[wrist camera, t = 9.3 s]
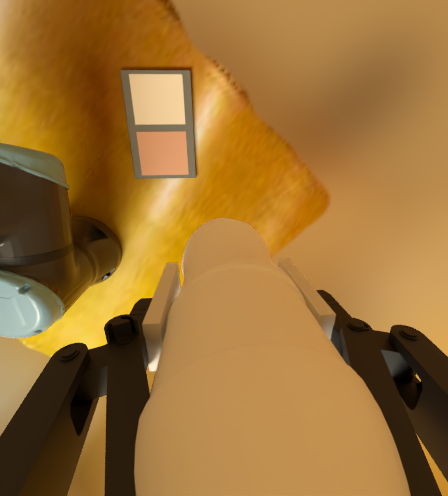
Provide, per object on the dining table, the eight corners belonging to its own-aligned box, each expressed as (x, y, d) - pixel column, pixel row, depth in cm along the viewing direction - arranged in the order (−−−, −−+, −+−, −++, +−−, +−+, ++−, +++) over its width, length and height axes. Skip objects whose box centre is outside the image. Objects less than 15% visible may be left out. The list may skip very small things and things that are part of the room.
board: (136, 178, 47) (135, 178, 46) (121, 71, 41) (119, 69, 40) (196, 177, 48) (195, 177, 47) (190, 72, 41) (190, 70, 40)
